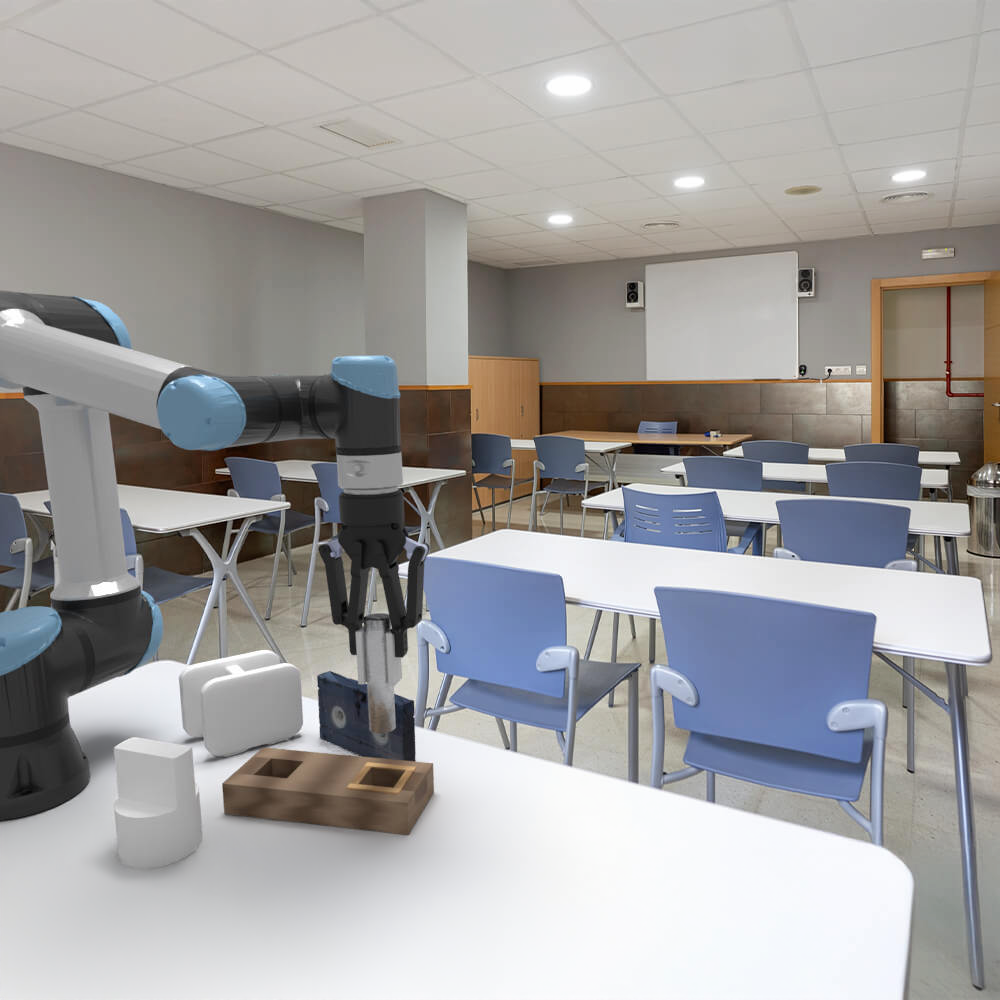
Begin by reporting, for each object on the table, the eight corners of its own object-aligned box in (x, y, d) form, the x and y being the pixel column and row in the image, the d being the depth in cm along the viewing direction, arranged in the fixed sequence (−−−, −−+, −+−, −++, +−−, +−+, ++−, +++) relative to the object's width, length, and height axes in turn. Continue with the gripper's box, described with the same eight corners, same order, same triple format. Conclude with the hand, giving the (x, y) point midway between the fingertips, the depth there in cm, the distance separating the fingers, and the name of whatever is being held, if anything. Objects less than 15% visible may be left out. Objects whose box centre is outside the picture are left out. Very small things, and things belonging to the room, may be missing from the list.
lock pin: (365, 732, 98) (359, 620, 96) (375, 721, 101) (369, 612, 99) (390, 734, 97) (384, 621, 95) (399, 723, 100) (394, 613, 98)
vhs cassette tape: (417, 768, 111) (415, 699, 110) (401, 777, 109) (398, 706, 107) (335, 732, 123) (331, 669, 122) (318, 738, 121) (315, 675, 119)
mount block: (224, 813, 100) (222, 781, 100) (264, 775, 110) (262, 745, 109) (408, 834, 95) (407, 801, 94) (434, 792, 104) (433, 761, 104)
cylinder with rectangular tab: (100, 859, 91) (90, 759, 89) (159, 818, 99) (151, 726, 98) (164, 875, 88) (155, 771, 86) (219, 831, 96) (212, 736, 94)
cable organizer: (202, 765, 113) (196, 686, 111) (182, 739, 121) (176, 664, 120) (304, 737, 121) (300, 663, 120) (279, 714, 130) (275, 644, 128)
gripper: (292, 493, 93) (304, 688, 96) (427, 494, 89) (435, 697, 93) (320, 485, 100) (331, 666, 104) (446, 485, 97) (453, 673, 100)
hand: (380, 680), depth 98 cm, fingers closed on lock pin, 3 cm apart
